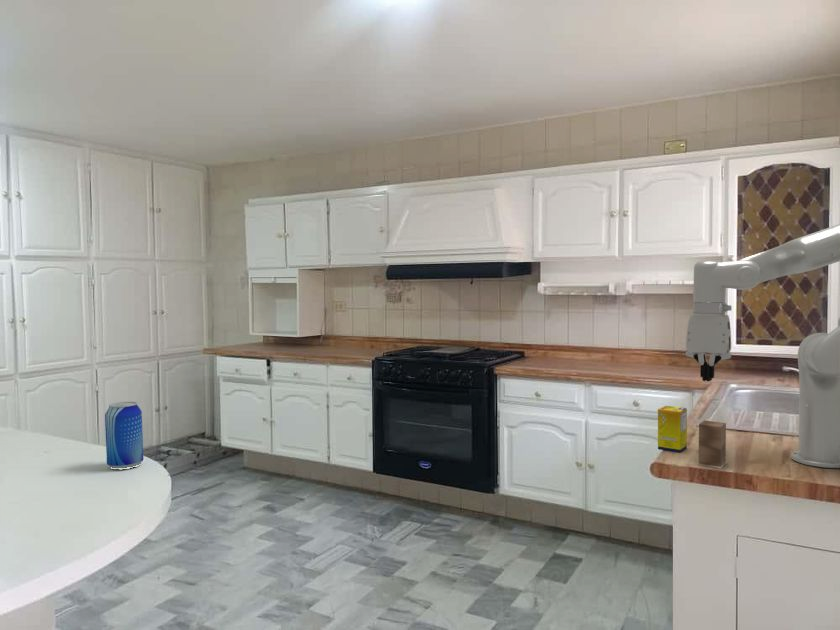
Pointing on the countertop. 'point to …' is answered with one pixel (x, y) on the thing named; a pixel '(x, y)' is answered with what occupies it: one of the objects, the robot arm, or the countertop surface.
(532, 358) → the countertop surface
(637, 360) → the countertop surface
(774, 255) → the robot arm
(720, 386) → the countertop surface
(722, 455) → the walnut block
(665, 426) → the supplement box
